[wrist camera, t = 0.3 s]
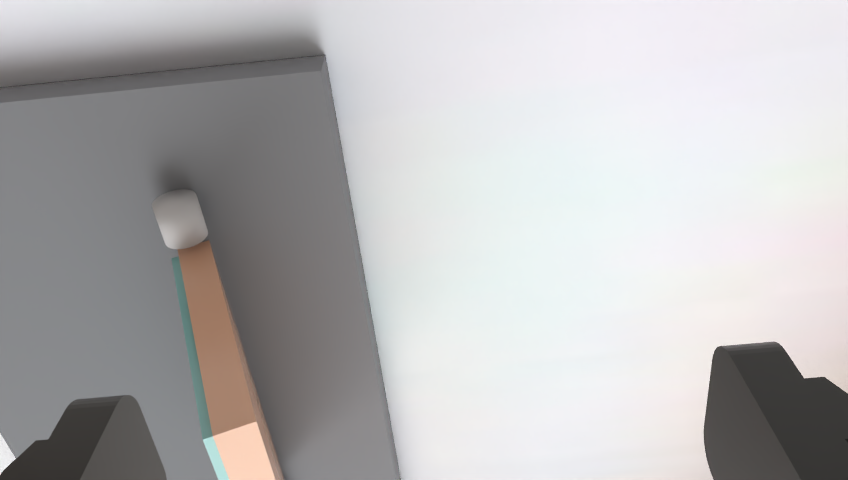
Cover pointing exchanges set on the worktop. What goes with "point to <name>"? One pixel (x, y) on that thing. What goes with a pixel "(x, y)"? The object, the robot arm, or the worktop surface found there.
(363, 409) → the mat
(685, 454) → the worktop surface
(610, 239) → the worktop surface
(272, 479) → the tile
